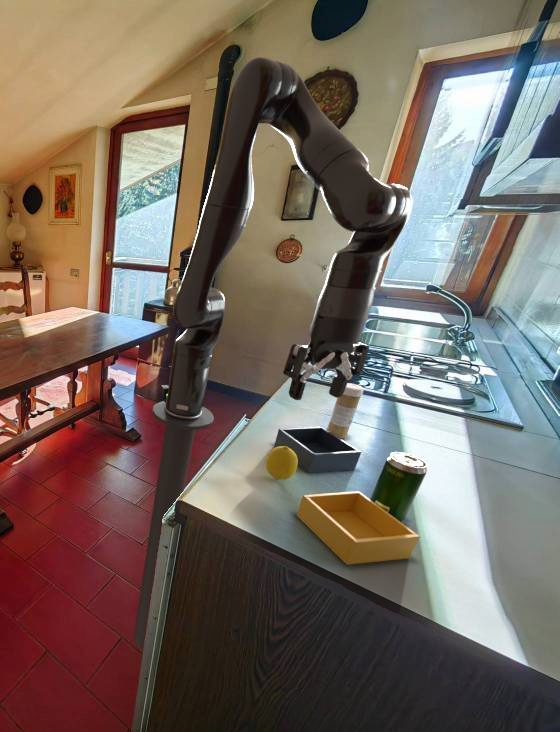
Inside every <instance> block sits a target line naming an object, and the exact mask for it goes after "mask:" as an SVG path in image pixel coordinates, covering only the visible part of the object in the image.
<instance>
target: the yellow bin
mask: <svg viewBox="0 0 560 732" xmlns="http://www.w3.org/2000/svg"><path fill="white" fill-rule="evenodd" d="M296 517H297V518H299V519H300V521H301V522H303V524H304V525H305V526H306V527H308V528H309V530H311V531H312V532H313V533H314V535H316V536H317V537H318V538H319V540H321V541H322V542H323V543H324V544H325V545H326V546H327V548H329V549H330V550H331V551H332V552H333V553H334V554H335V555H336V556H337V557H338V558H339V559H340V560H341V561H342V562H343V563H344V564H345V565H357V564H358V565H359V564H367V563H377V562H378V563H379V562H388V561H398V560H407V559H410V558H411V555H412V553H413V552H414V550H415V548H416V547H417V543H418V542H419V540H420V538H421V536H420V535H419V534H417V533H416V532H415V531H413V530H412V529H411V528H410V527H408V526H407V525H406V524H404V523H403V522H400V521H398V520H397V519H396V518H394V517H393V516H392V515H390V514H389V513H388V512H386V511H385V510H384V509H382V508H381V507H380V506H378V505H377V504H376V503H374V502H373V501H372V500H370V498H369V497H367V496H366V495H365V494H364V493H362V492H361V491H359V490H354V491H353V490H352V491H342V492H339V491H338V492H330V493H327V492H326V493H315V494H303V495H302V497H301V500H300V503H299V506H298V510H297V512H296Z"/></svg>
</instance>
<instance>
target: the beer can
mask: <svg viewBox="0 0 560 732" xmlns="http://www.w3.org/2000/svg"><path fill="white" fill-rule="evenodd" d="M428 466H429V465H428V463H427V462H426V461H425V460H423V459H422V458H420V457H418V456H415V455H413V454H409V453H406V452H401V451H394V452H391V453H390V455H389V456H387V457H386V460H385V462H384V464H383V467H382V470H381V472H380V474H379V476H378V479H377V482H376V484H375V486H374V488H373V491H372V494H371V496H370V498H369V499H370V500H372V501H373V502H374V503H376V504H377V505H378V506H380V507H381V508H382V509H384V510H385V511H386V512H388V513H389V514H390V515H392V516H393V517H394V518H396V519H397V520H398V521H400V522H401V523H403V521H405V519H406V517H407V515H408V513H409V511H410V509H411V507H412V505H413V502H414V500H415V498H416V497H417V494H418V492H419V490H420V487H421V485H422V484H423V481H424V479H425V477H426V475H427V473H428V469H427V468H428Z"/></svg>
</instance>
